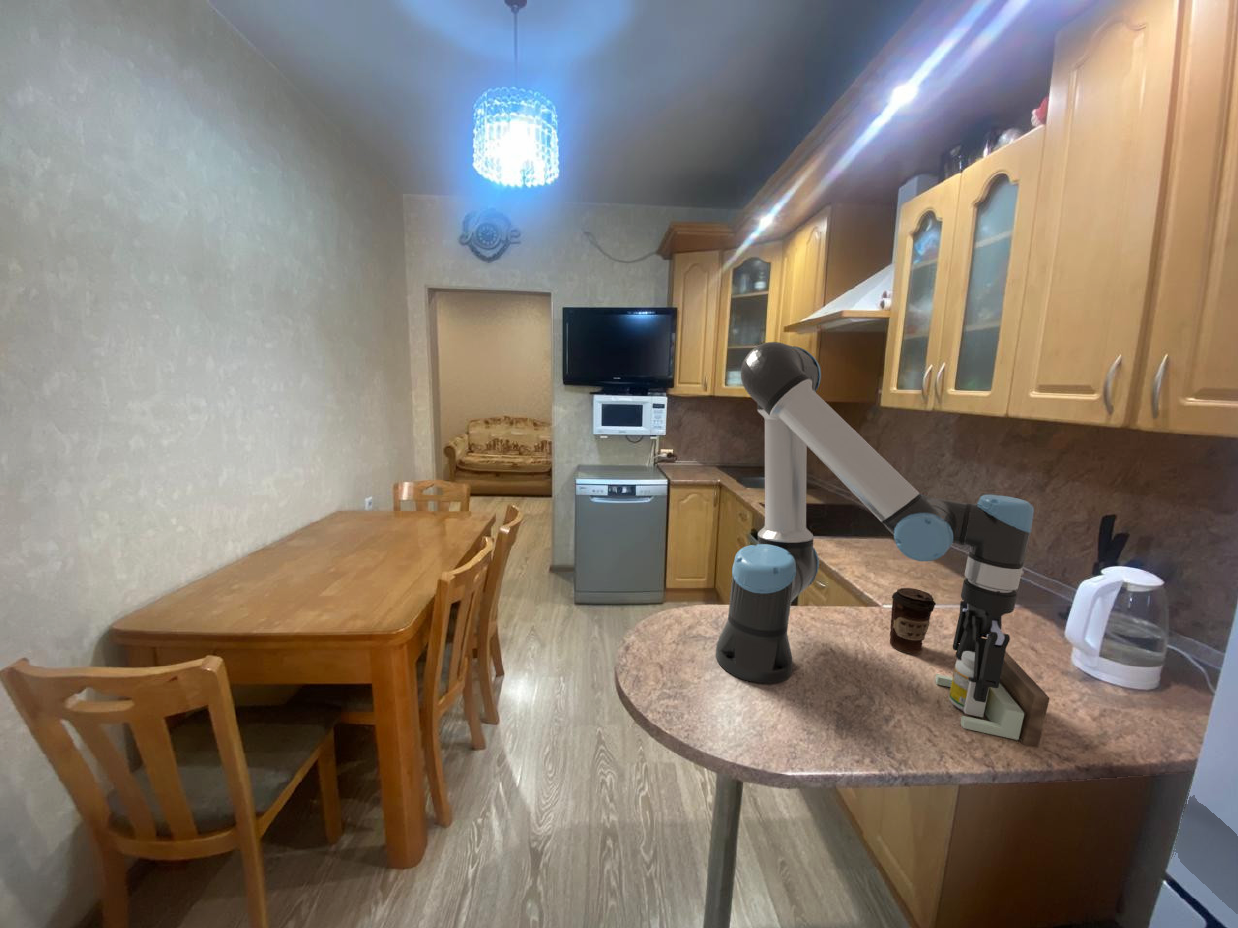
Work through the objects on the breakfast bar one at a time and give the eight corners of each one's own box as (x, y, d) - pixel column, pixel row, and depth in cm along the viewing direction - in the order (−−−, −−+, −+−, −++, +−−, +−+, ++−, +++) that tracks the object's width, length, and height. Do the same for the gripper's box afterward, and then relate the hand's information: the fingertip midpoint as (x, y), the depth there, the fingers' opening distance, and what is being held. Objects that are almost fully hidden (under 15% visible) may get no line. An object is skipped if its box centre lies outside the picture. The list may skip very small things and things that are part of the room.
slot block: (963, 727, 82) (968, 701, 81) (934, 680, 95) (939, 657, 94) (1018, 740, 80) (1024, 713, 79) (981, 689, 93) (986, 666, 92)
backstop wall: (1023, 743, 79) (1034, 694, 78) (983, 690, 93) (992, 647, 92) (1038, 747, 78) (1049, 697, 77) (995, 692, 93) (1004, 649, 91)
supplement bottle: (964, 714, 85) (974, 665, 83) (941, 695, 90) (950, 648, 88) (992, 714, 85) (1002, 665, 84) (967, 695, 90) (977, 648, 89)
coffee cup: (934, 661, 102) (945, 604, 100) (892, 654, 104) (901, 599, 102) (918, 640, 111) (927, 587, 109) (879, 634, 112) (887, 582, 110)
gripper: (1045, 611, 74) (1015, 743, 78) (991, 568, 91) (969, 679, 95) (989, 602, 76) (962, 732, 80) (946, 562, 93) (926, 670, 97)
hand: (966, 703), depth 87 cm, fingers closed on supplement bottle, 5 cm apart
